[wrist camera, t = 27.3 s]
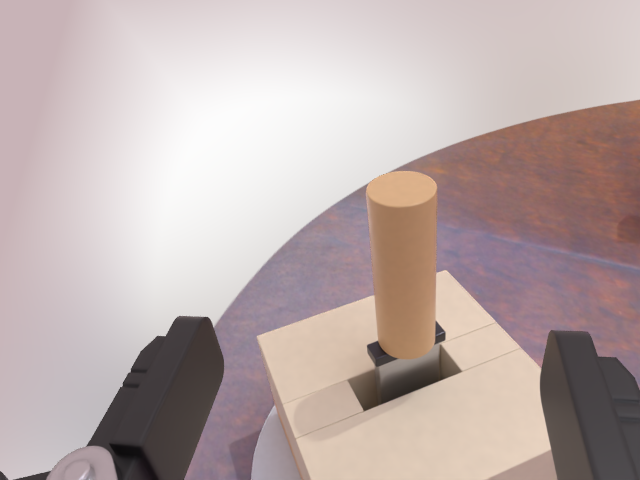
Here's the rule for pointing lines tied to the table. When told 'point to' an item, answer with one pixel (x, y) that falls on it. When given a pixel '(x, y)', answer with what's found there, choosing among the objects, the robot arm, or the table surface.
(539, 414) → the wooden slotted box
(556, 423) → the robot arm
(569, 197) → the table surface
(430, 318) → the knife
